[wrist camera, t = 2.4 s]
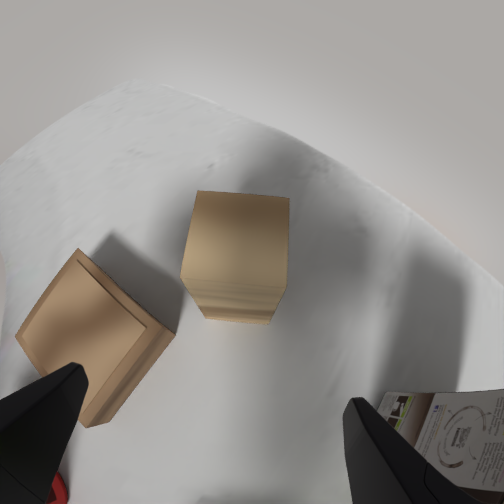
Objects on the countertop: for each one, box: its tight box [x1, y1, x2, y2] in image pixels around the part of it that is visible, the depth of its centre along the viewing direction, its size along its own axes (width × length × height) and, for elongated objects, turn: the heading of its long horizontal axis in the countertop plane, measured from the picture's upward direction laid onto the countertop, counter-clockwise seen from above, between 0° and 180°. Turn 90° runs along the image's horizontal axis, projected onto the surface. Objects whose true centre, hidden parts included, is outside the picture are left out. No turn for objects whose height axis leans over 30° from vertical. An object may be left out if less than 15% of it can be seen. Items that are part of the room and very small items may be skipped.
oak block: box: [180, 191, 289, 324], centre depth 19 cm, size 5×5×10 cm
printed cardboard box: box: [377, 389, 504, 504], centre depth 11 cm, size 9×6×16 cm
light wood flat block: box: [15, 248, 176, 428], centre depth 19 cm, size 10×10×4 cm
